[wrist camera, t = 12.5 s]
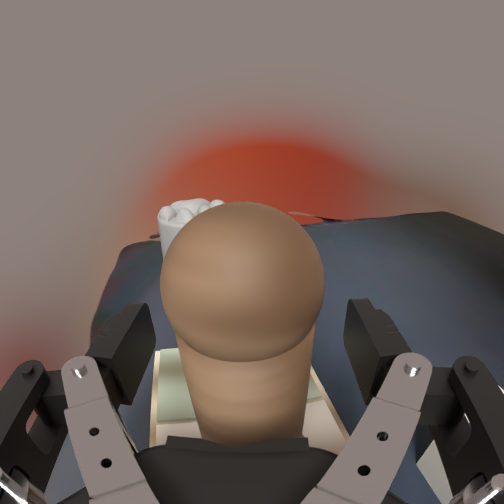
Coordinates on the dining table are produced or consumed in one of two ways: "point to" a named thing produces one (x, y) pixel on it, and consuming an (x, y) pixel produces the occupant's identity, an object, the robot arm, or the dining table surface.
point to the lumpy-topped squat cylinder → (180, 218)
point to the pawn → (244, 319)
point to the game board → (184, 420)
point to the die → (436, 472)
